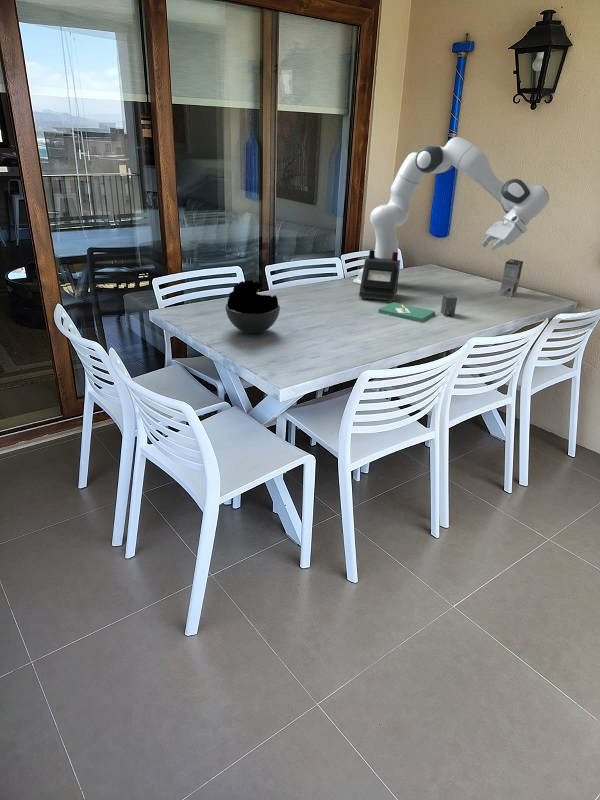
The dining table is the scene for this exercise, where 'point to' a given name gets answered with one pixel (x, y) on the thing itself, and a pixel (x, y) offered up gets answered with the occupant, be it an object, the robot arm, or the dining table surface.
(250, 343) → the dining table surface
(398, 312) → the header board
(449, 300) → the block
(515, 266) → the coffee box
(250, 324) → the coal bowl
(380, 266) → the voltmeter
